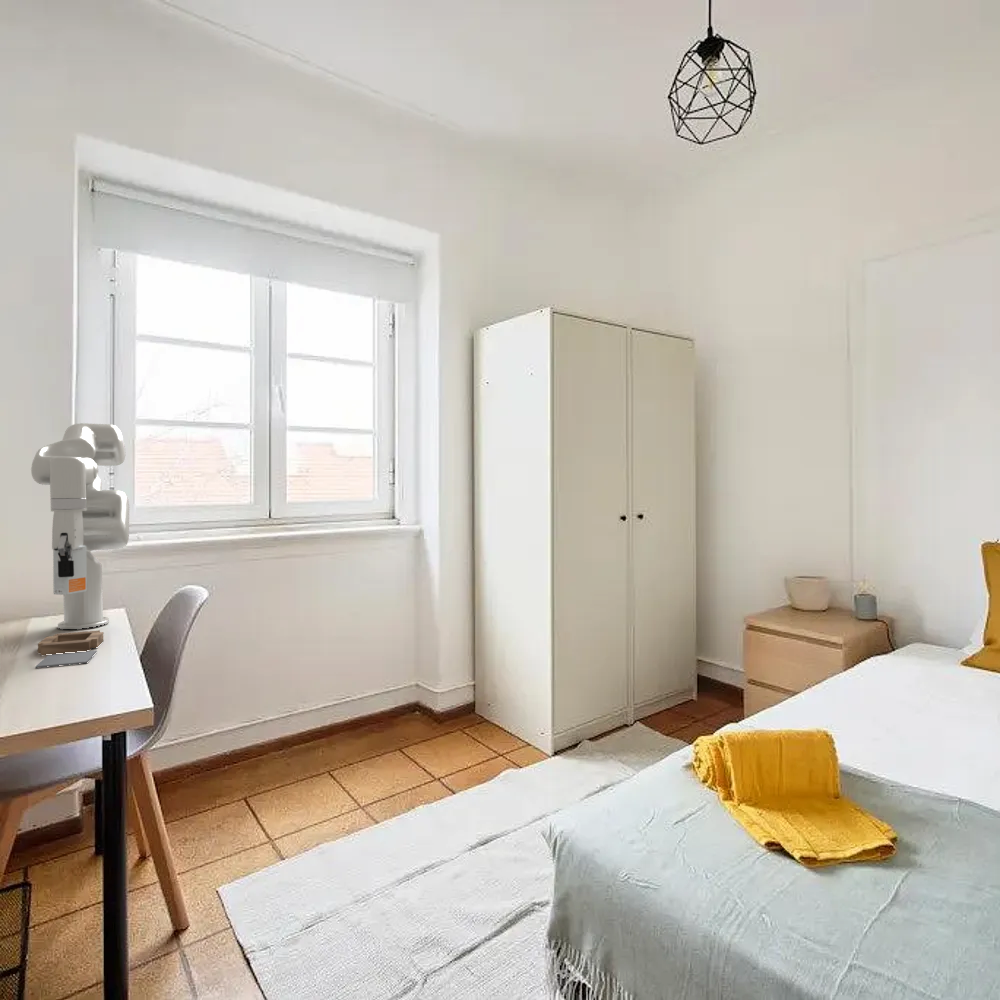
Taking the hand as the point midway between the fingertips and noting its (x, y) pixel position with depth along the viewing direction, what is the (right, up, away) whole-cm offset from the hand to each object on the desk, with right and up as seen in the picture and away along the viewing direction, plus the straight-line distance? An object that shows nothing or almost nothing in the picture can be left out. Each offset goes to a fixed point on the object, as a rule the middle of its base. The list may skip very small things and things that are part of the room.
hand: (70, 573), depth 158 cm
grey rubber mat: (+7, -19, -11) cm, 23 cm away
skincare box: (0, -5, 0) cm, 5 cm away
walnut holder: (0, -19, 0) cm, 19 cm away
